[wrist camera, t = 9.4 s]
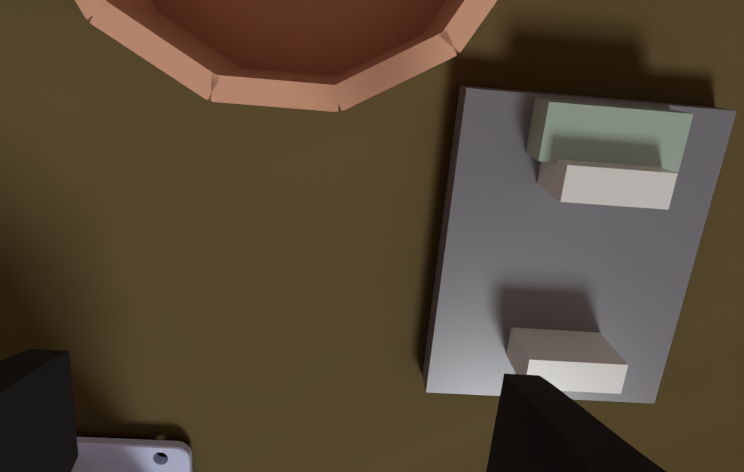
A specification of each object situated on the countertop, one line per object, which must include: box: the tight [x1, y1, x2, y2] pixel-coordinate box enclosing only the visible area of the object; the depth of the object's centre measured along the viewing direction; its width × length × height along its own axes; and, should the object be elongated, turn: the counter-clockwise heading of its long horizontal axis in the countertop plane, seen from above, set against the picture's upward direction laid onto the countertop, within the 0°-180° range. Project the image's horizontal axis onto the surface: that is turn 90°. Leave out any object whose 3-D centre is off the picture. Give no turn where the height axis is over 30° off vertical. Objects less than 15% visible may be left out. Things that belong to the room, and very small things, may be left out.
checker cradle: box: [422, 85, 737, 403], centre depth 18 cm, size 8×10×3 cm
